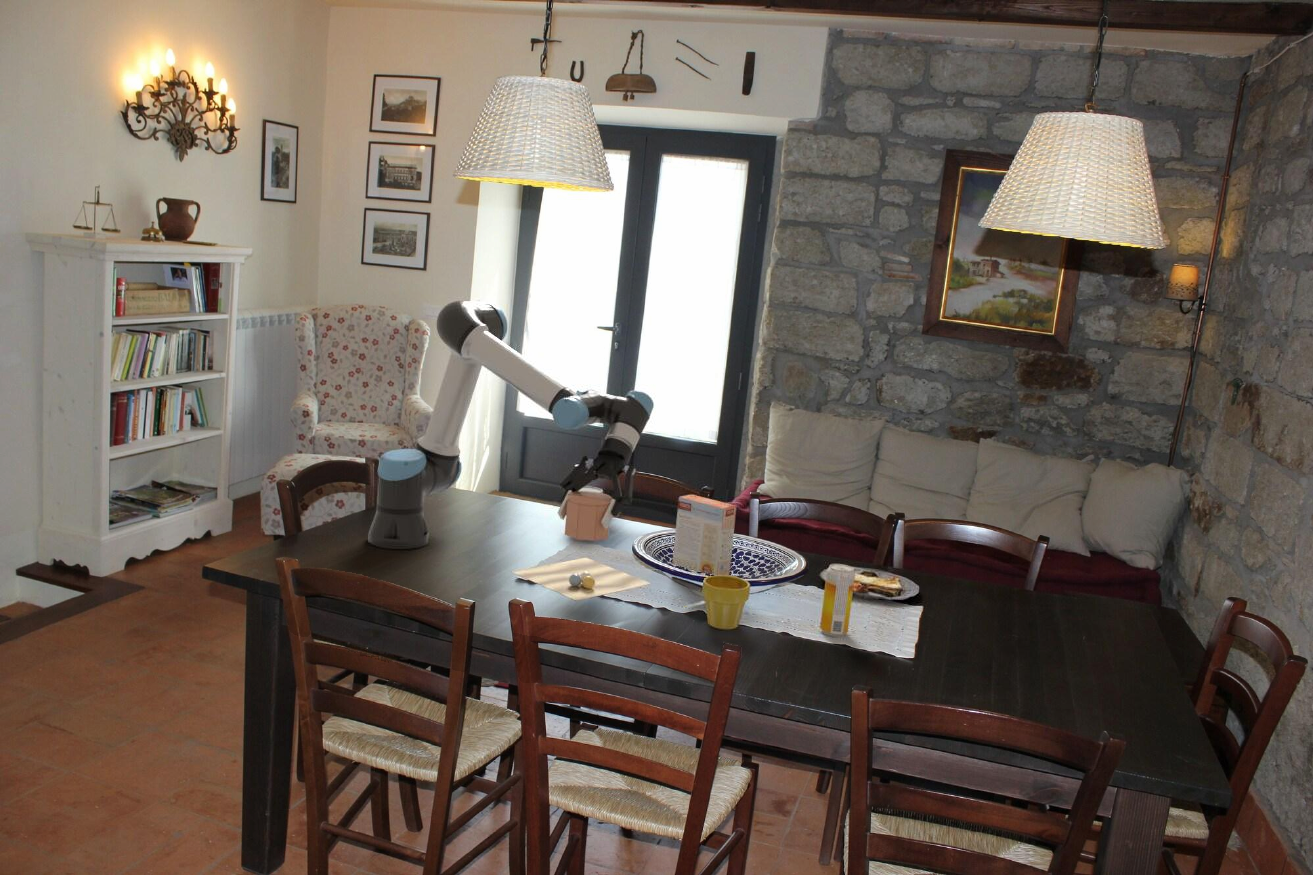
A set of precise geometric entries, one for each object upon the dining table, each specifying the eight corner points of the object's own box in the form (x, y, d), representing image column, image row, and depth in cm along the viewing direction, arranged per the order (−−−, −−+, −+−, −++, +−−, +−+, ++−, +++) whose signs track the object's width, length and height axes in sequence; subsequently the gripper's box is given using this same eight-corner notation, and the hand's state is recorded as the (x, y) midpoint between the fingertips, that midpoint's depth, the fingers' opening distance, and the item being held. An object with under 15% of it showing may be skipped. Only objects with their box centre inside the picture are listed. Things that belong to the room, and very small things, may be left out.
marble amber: (579, 587, 232) (580, 575, 232) (588, 585, 234) (589, 573, 234) (587, 591, 230) (588, 578, 230) (597, 589, 232) (598, 576, 232)
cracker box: (729, 587, 245) (738, 505, 241) (714, 592, 240) (723, 508, 237) (685, 572, 253) (693, 492, 250) (670, 576, 249) (677, 495, 245)
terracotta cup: (555, 531, 231) (558, 493, 230) (588, 525, 239) (591, 489, 237) (584, 542, 224) (587, 503, 223) (618, 536, 232) (621, 499, 230)
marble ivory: (576, 583, 235) (577, 571, 235) (585, 581, 237) (586, 569, 237) (584, 586, 233) (585, 574, 233) (594, 584, 235) (595, 572, 235)
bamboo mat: (511, 574, 239) (511, 571, 239) (585, 559, 256) (585, 557, 256) (576, 603, 223) (576, 600, 223) (651, 585, 240) (651, 583, 240)
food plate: (814, 592, 247) (816, 578, 246) (823, 568, 269) (825, 556, 268) (916, 612, 241) (919, 598, 240) (918, 586, 263) (920, 573, 262)
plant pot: (689, 622, 217) (693, 579, 216) (717, 612, 225) (721, 571, 224) (727, 636, 211) (732, 592, 209) (754, 626, 219) (759, 583, 217)
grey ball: (565, 585, 233) (566, 573, 232) (575, 583, 235) (576, 571, 234) (574, 589, 231) (575, 576, 230) (583, 586, 233) (584, 574, 232)
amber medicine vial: (841, 627, 223) (849, 563, 221) (851, 637, 217) (859, 572, 215) (815, 627, 222) (823, 562, 219) (824, 637, 216) (833, 571, 214)
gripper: (665, 463, 238) (631, 539, 227) (580, 448, 247) (543, 520, 236) (658, 444, 232) (623, 521, 221) (572, 429, 242) (533, 502, 230)
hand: (582, 520), depth 228 cm, fingers closed on terracotta cup, 11 cm apart
